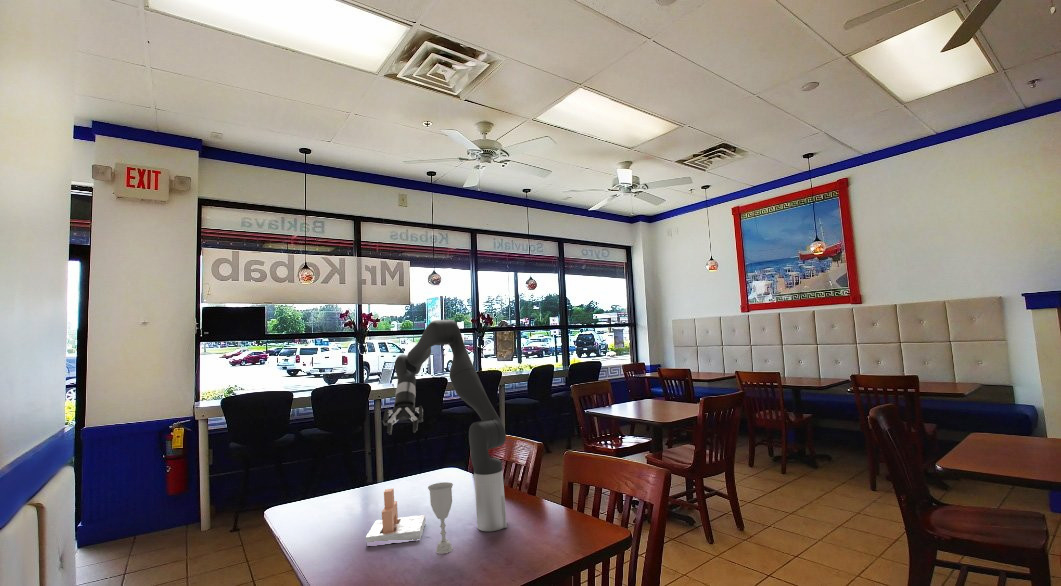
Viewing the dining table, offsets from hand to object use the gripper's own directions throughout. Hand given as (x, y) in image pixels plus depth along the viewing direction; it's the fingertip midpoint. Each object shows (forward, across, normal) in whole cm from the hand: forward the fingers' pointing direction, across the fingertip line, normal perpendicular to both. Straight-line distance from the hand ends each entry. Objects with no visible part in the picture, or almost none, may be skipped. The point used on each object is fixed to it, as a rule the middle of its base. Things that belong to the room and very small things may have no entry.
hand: (402, 432), depth 177 cm
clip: (+33, -2, +7) cm, 34 cm away
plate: (+33, 0, +7) cm, 34 cm away
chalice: (+45, +16, -4) cm, 48 cm away
